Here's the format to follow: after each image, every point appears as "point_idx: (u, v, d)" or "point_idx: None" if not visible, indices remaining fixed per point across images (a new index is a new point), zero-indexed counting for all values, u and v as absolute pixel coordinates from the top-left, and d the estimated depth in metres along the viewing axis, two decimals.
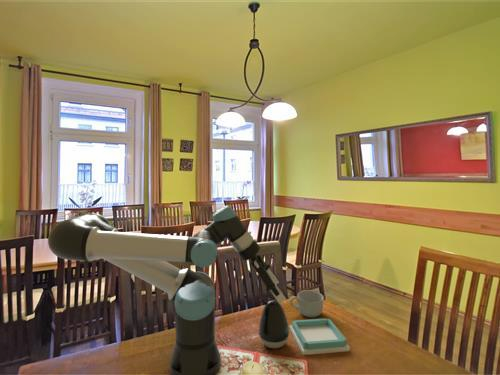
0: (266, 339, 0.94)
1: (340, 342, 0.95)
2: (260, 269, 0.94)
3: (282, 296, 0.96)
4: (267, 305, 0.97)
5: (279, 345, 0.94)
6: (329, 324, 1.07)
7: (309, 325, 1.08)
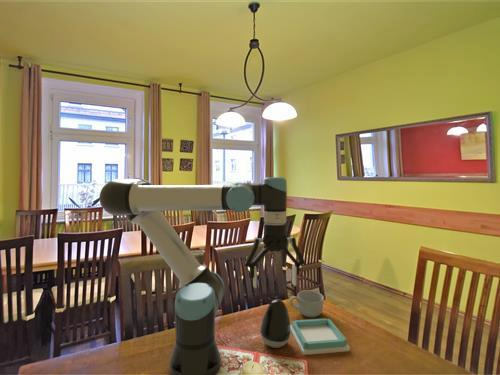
0: (268, 338, 0.94)
1: (340, 342, 0.95)
2: (253, 246, 0.96)
3: (254, 282, 0.96)
4: (272, 304, 0.97)
5: (280, 345, 0.95)
6: (329, 324, 1.07)
7: (309, 325, 1.08)
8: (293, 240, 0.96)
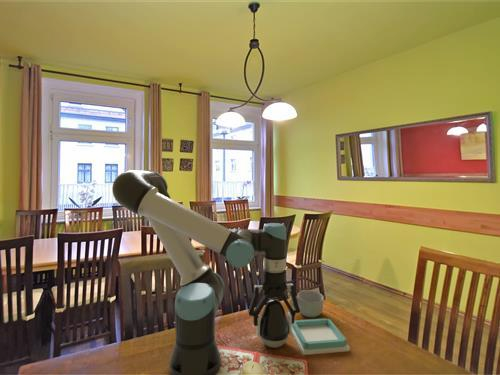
0: (269, 338, 0.94)
1: (340, 342, 0.95)
2: (254, 294, 0.97)
3: (257, 331, 0.97)
4: (269, 304, 0.97)
5: (281, 344, 0.95)
6: (329, 324, 1.07)
7: (309, 325, 1.08)
8: (292, 288, 0.97)
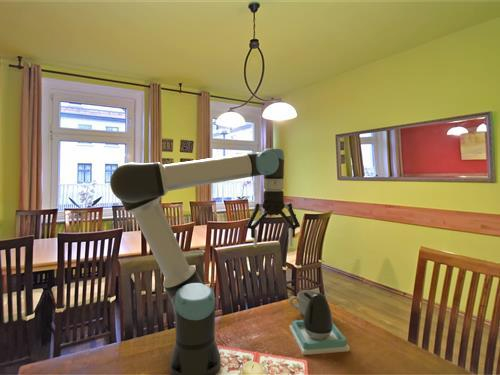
0: (315, 331, 0.97)
1: (340, 342, 0.95)
2: (254, 210, 1.07)
3: (254, 242, 1.07)
4: (314, 298, 1.00)
5: (326, 336, 0.98)
6: None
7: None
8: (289, 205, 1.08)
